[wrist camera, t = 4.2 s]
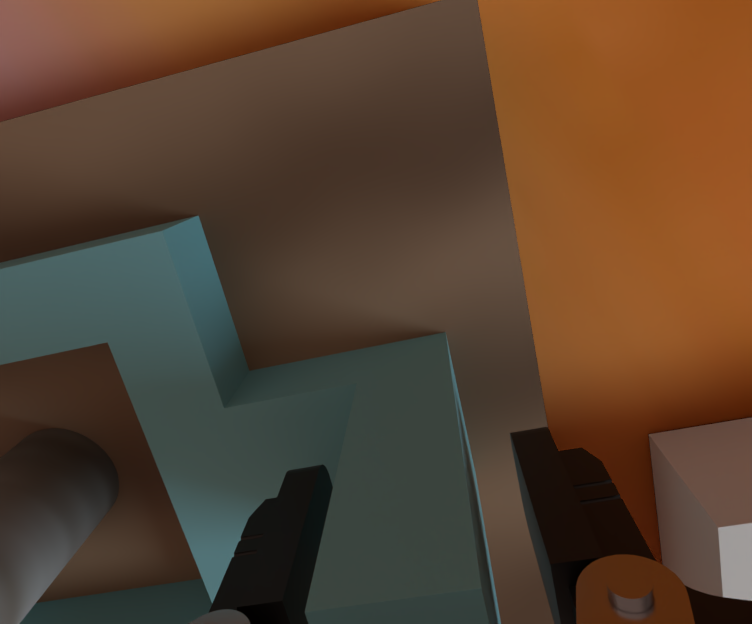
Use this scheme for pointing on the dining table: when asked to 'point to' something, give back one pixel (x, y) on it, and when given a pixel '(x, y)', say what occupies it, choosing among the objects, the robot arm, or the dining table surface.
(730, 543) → the tray
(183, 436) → the teal frame with handle
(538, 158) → the dining table surface
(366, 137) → the stake board
